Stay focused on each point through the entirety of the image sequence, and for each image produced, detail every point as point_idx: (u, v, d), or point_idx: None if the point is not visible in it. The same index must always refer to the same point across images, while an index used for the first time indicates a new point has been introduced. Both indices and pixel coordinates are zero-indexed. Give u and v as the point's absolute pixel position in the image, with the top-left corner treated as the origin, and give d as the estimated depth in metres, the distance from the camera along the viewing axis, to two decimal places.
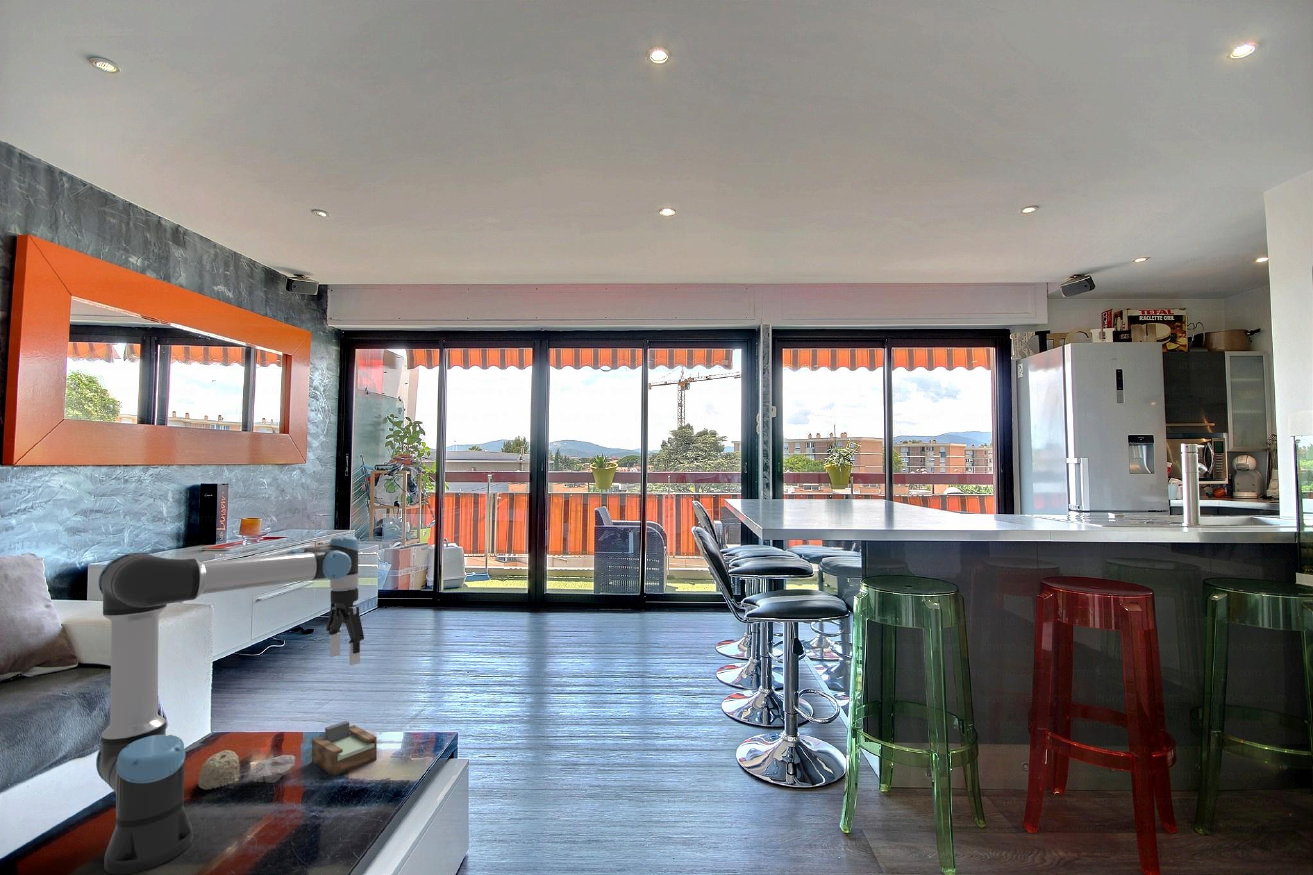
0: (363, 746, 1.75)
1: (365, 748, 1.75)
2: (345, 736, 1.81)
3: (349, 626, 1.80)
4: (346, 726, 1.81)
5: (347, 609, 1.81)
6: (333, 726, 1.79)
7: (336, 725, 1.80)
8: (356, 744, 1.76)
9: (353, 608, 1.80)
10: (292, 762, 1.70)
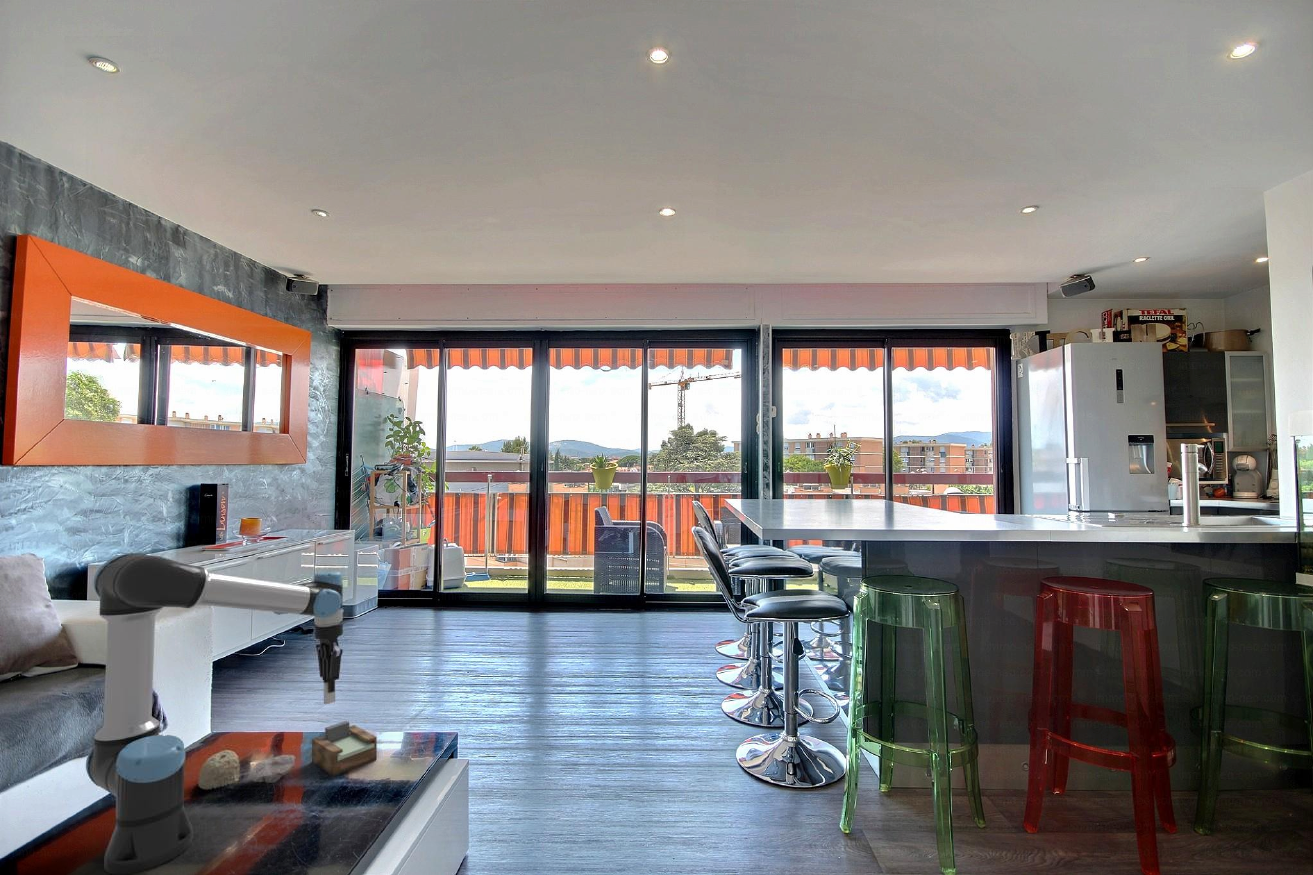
0: (363, 746, 1.75)
1: (365, 748, 1.75)
2: (345, 736, 1.81)
3: (328, 665, 1.83)
4: (346, 726, 1.81)
5: (331, 647, 1.82)
6: (333, 726, 1.79)
7: (336, 725, 1.80)
8: (356, 744, 1.76)
9: (337, 652, 1.81)
10: (292, 762, 1.70)
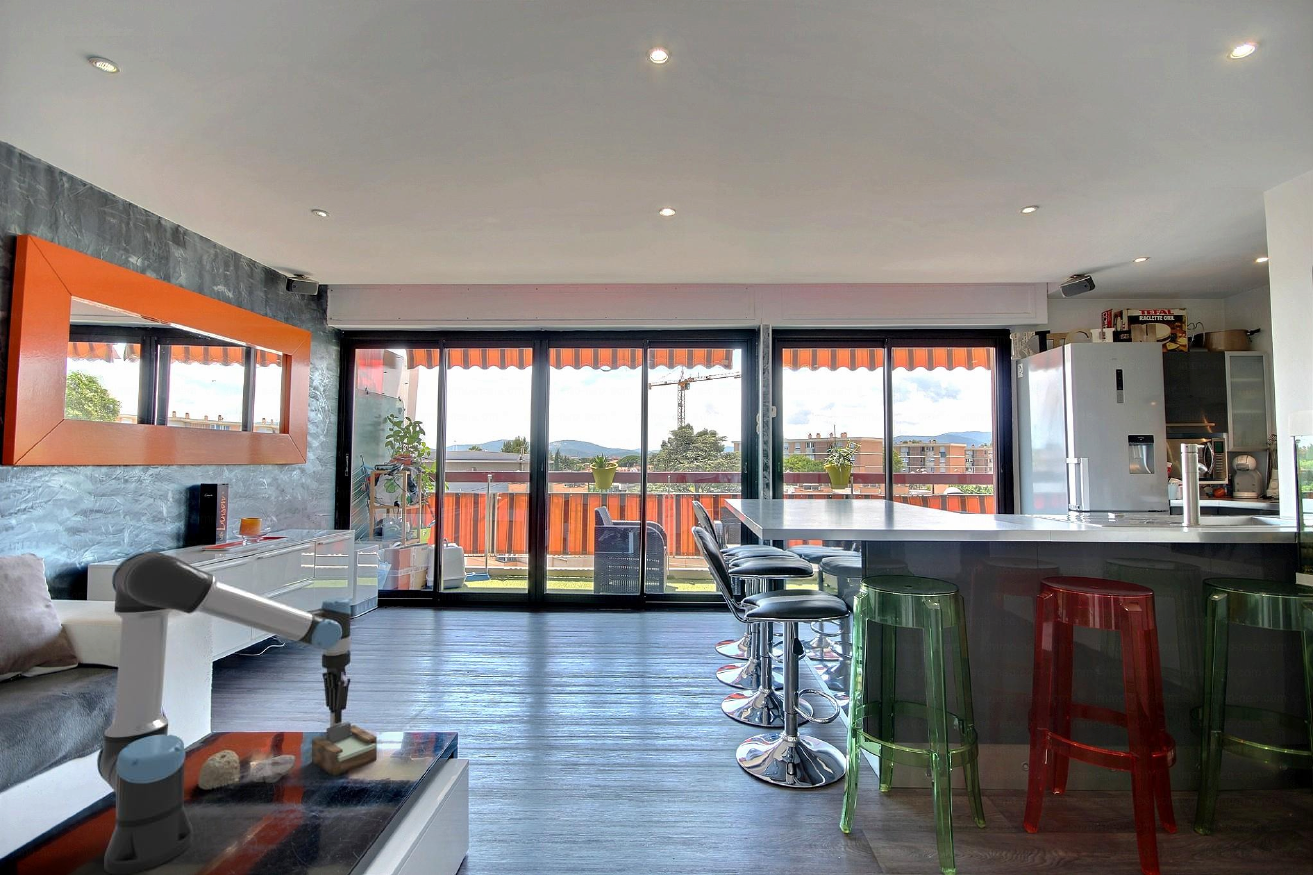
0: (365, 747, 1.74)
1: (367, 749, 1.74)
2: (346, 737, 1.80)
3: (335, 695, 1.79)
4: (347, 727, 1.81)
5: (339, 676, 1.78)
6: (334, 727, 1.79)
7: (337, 726, 1.79)
8: (358, 745, 1.76)
9: (345, 682, 1.77)
10: (292, 762, 1.70)
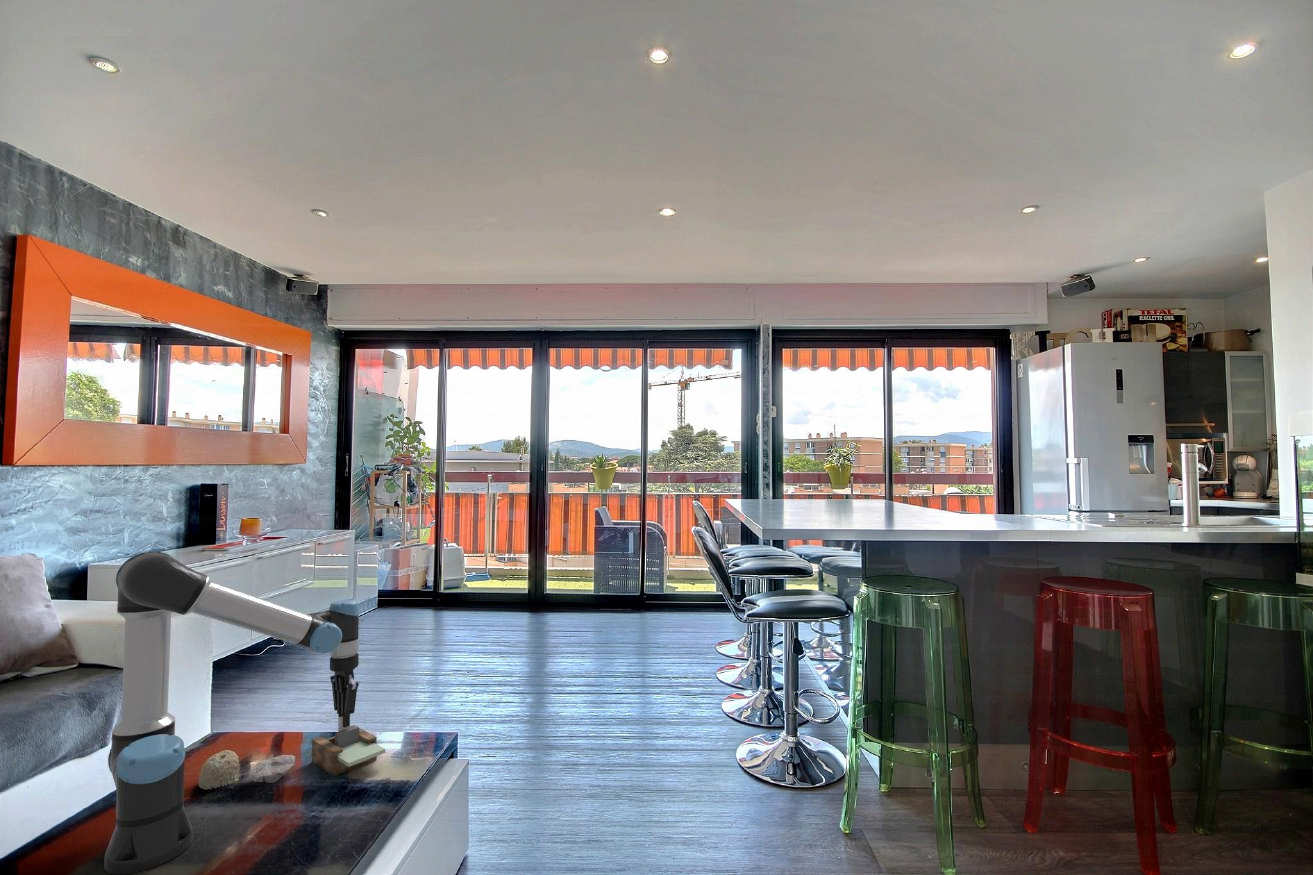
0: (374, 752, 1.71)
1: (376, 754, 1.71)
2: (355, 741, 1.77)
3: (344, 699, 1.76)
4: (356, 731, 1.78)
5: (347, 679, 1.75)
6: (343, 731, 1.76)
7: (346, 730, 1.76)
8: (367, 750, 1.73)
9: (353, 685, 1.74)
10: (292, 762, 1.70)
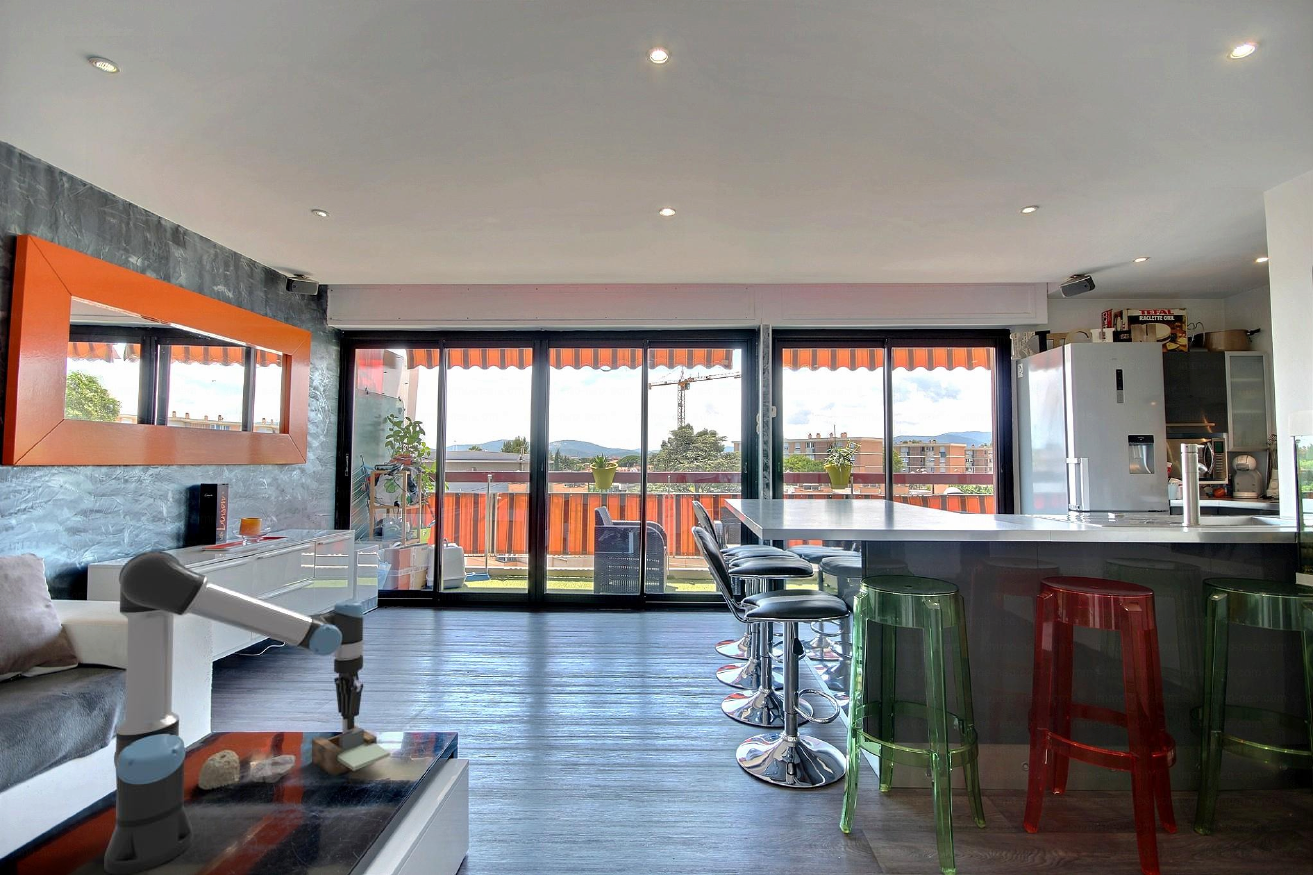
0: (379, 755, 1.70)
1: (381, 757, 1.69)
2: (359, 744, 1.76)
3: (348, 701, 1.74)
4: (360, 733, 1.76)
5: (351, 681, 1.74)
6: (347, 733, 1.74)
7: (350, 732, 1.74)
8: (371, 753, 1.71)
9: (357, 687, 1.72)
10: (292, 762, 1.70)
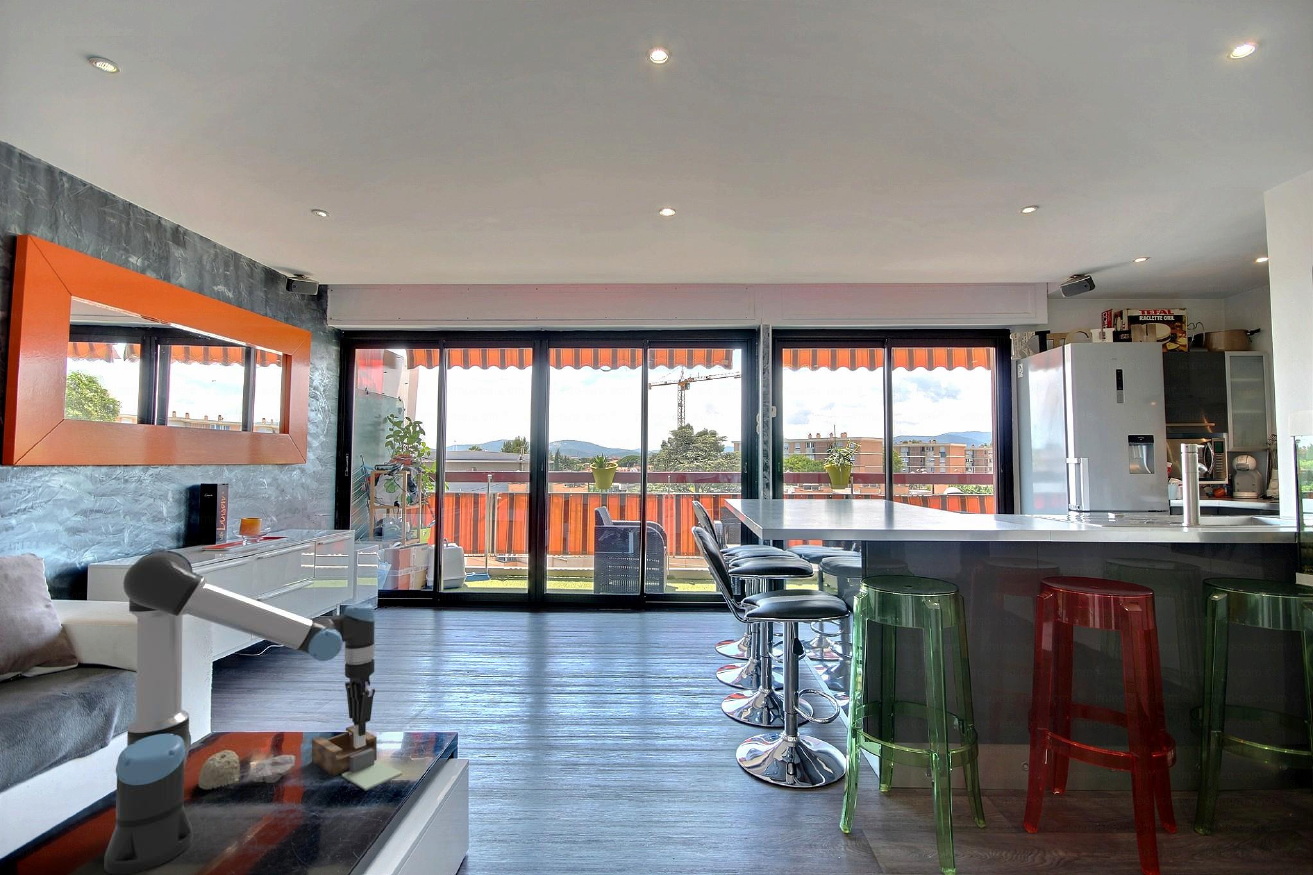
0: (391, 776, 1.67)
1: None
2: (370, 764, 1.73)
3: (359, 706, 1.70)
4: (371, 754, 1.73)
5: (363, 686, 1.69)
6: (358, 754, 1.71)
7: (360, 753, 1.71)
8: (383, 773, 1.68)
9: (369, 692, 1.68)
10: (292, 762, 1.70)
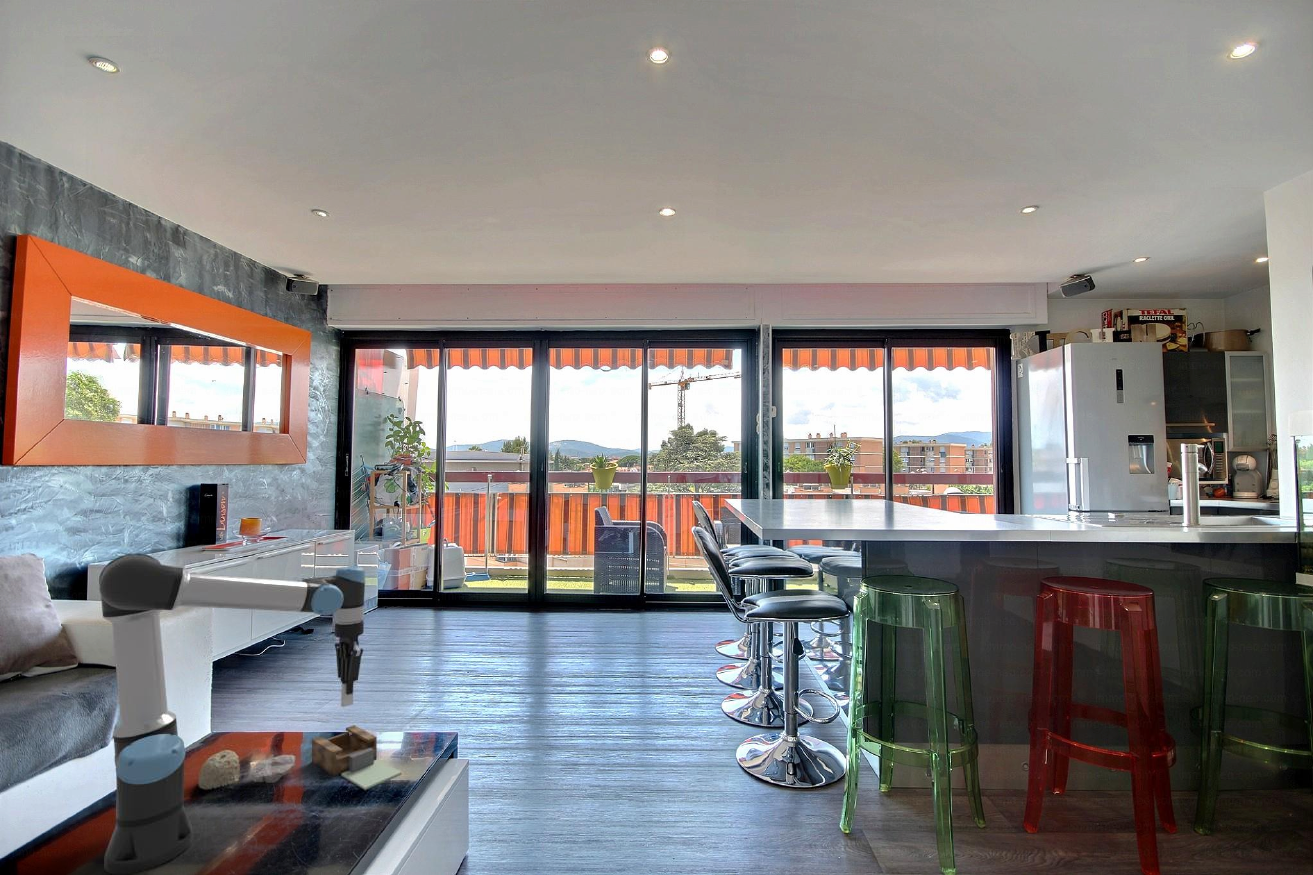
0: (390, 775, 1.67)
1: (392, 777, 1.67)
2: (369, 764, 1.73)
3: (347, 666, 1.75)
4: (370, 753, 1.73)
5: (351, 646, 1.74)
6: (357, 754, 1.71)
7: (360, 753, 1.72)
8: (382, 773, 1.68)
9: (357, 651, 1.73)
10: (292, 762, 1.70)
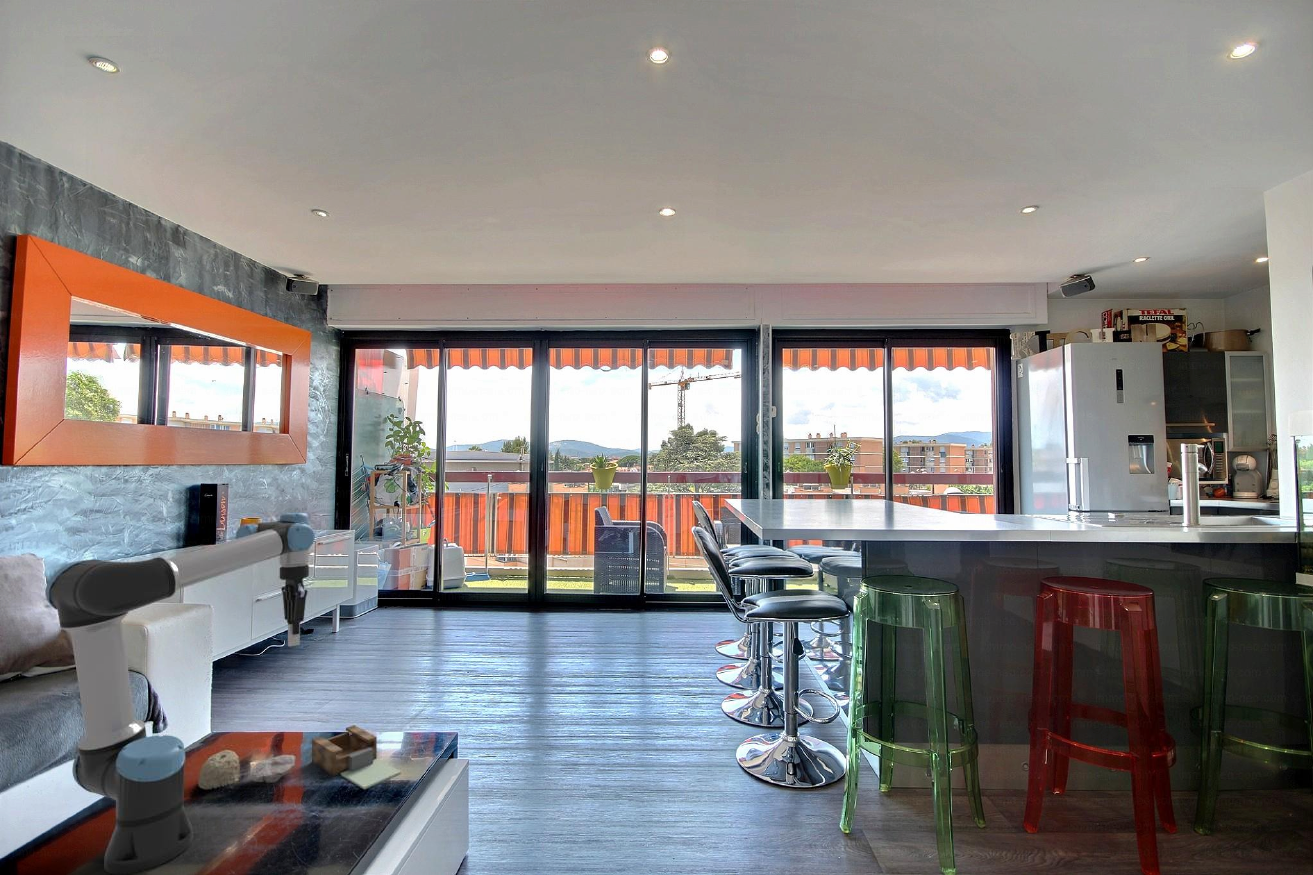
0: (389, 775, 1.67)
1: (391, 777, 1.67)
2: (369, 763, 1.73)
3: (293, 607, 1.81)
4: (370, 753, 1.73)
5: (296, 587, 1.80)
6: (356, 753, 1.71)
7: (359, 752, 1.72)
8: (382, 772, 1.68)
9: (301, 592, 1.78)
10: (292, 762, 1.70)
